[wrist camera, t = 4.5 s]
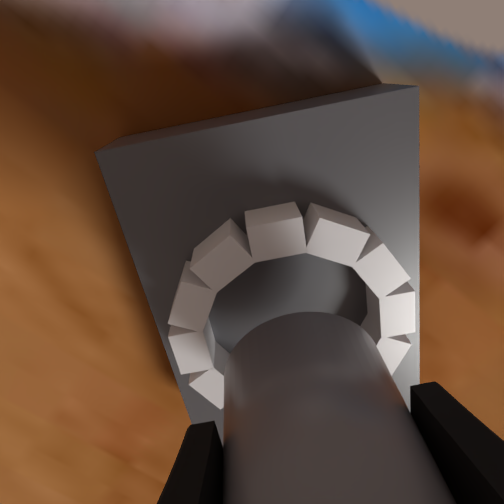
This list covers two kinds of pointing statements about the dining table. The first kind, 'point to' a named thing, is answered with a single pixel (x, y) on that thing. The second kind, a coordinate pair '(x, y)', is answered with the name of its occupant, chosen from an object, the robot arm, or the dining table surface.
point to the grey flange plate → (275, 228)
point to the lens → (320, 420)
